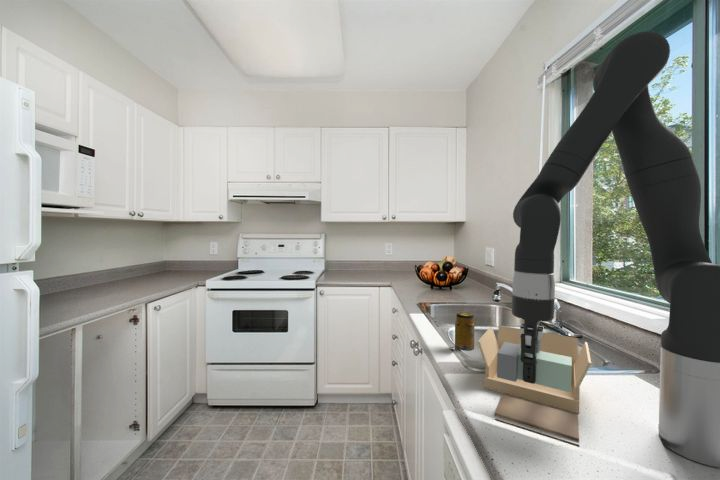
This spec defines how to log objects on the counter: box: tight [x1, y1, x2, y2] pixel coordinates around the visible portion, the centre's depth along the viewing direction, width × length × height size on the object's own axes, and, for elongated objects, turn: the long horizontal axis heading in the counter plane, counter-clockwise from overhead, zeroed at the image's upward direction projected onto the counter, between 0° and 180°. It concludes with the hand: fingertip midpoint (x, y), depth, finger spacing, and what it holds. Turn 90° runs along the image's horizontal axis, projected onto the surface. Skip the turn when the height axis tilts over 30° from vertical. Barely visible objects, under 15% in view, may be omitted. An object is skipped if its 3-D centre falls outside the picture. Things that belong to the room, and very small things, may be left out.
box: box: [497, 342, 572, 392], centre depth 63 cm, size 12×8×5 cm, turn 56°
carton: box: [477, 325, 592, 415], centre depth 76 cm, size 22×18×12 cm
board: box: [494, 393, 580, 448], centre depth 63 cm, size 14×9×2 cm, turn 56°
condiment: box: [448, 311, 475, 352], centre depth 100 cm, size 7×8×12 cm
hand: (530, 376), depth 63 cm, fingers closed on box, 5 cm apart
